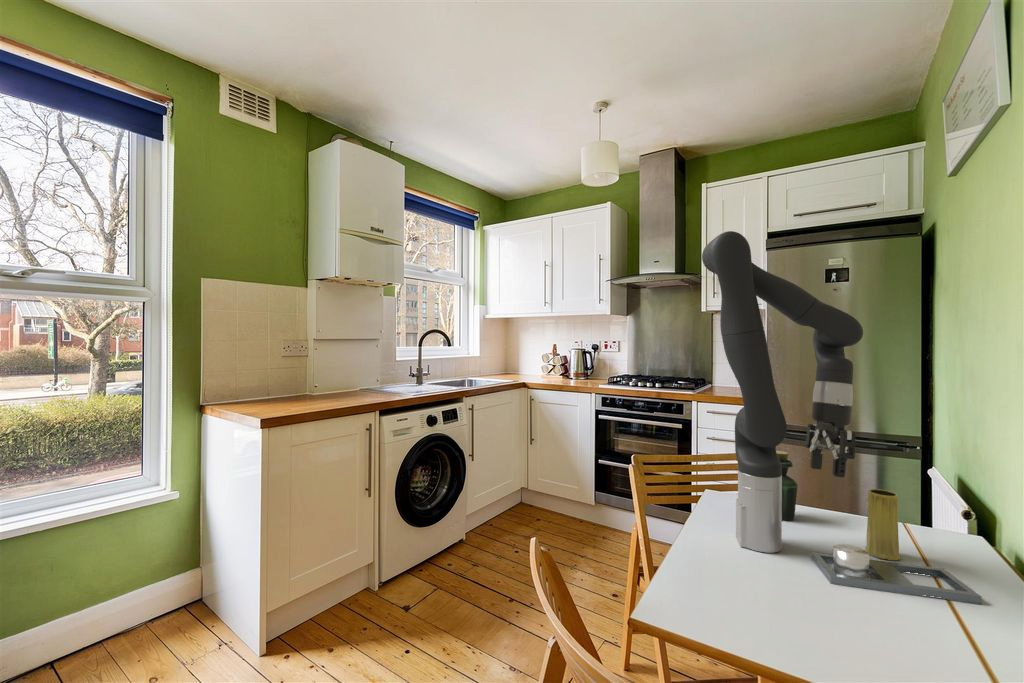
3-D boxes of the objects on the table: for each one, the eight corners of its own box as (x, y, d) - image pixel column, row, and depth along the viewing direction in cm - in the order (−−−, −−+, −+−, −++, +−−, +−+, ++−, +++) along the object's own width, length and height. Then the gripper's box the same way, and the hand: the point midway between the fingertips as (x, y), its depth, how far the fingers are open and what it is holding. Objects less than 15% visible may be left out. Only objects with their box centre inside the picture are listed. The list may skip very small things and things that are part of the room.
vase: (894, 552, 104) (894, 490, 105) (904, 563, 99) (904, 498, 99) (862, 546, 107) (862, 486, 107) (870, 557, 101) (870, 494, 102)
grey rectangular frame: (830, 583, 90) (830, 558, 90) (811, 558, 100) (811, 536, 101) (981, 604, 83) (981, 577, 83) (943, 575, 94) (943, 551, 94)
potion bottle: (758, 515, 127) (758, 451, 127) (771, 509, 131) (771, 447, 132) (789, 524, 120) (790, 457, 120) (802, 518, 125) (802, 453, 125)
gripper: (798, 398, 112) (792, 464, 111) (834, 401, 98) (828, 477, 97) (830, 402, 111) (824, 468, 110) (870, 406, 97) (865, 482, 96)
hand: (826, 472), depth 103 cm, fingers open, 8 cm apart
